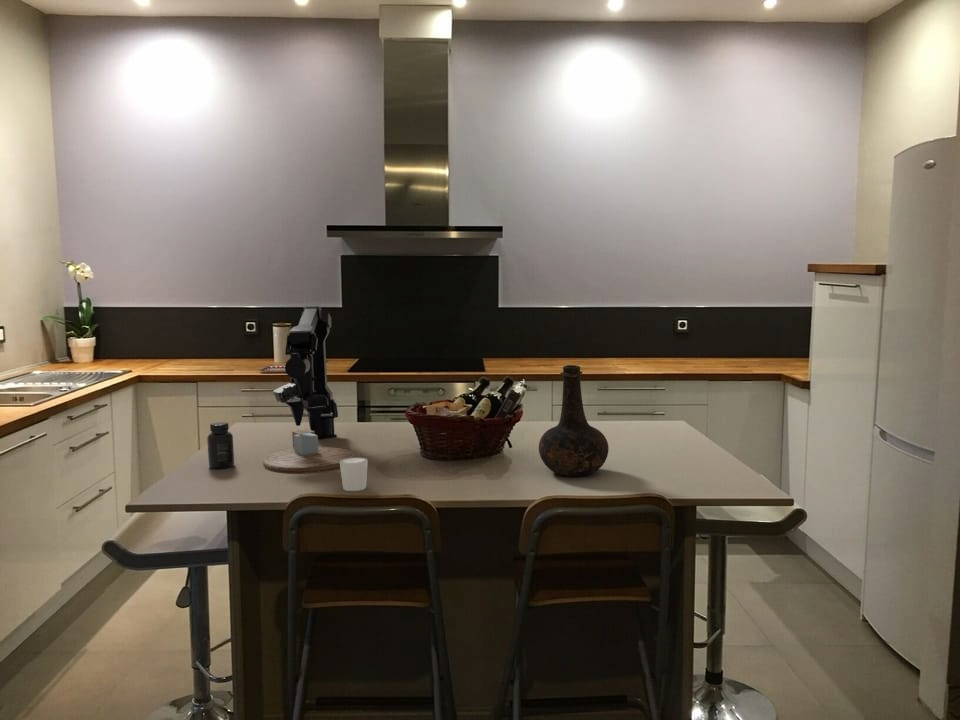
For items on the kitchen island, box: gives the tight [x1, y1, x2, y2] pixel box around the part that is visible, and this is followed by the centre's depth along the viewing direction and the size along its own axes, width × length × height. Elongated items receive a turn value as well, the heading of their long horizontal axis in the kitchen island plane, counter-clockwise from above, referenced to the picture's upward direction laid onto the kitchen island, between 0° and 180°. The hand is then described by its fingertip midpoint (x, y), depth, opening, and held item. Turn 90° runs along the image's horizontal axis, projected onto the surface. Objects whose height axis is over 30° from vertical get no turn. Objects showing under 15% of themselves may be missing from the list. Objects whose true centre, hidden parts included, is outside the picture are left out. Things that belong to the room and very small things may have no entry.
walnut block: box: [291, 428, 315, 448], centre depth 255 cm, size 5×5×5 cm
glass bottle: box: [538, 364, 610, 477], centre depth 218 cm, size 18×18×28 cm
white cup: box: [339, 456, 369, 492], centre depth 207 cm, size 7×7×7 cm
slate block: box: [293, 433, 319, 455], centre depth 242 cm, size 5×5×5 cm
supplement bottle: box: [206, 421, 235, 470], centre depth 232 cm, size 7×7×12 cm
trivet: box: [262, 446, 355, 474], centre depth 236 cm, size 25×25×2 cm
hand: (305, 427), depth 241 cm, fingers open, 9 cm apart
